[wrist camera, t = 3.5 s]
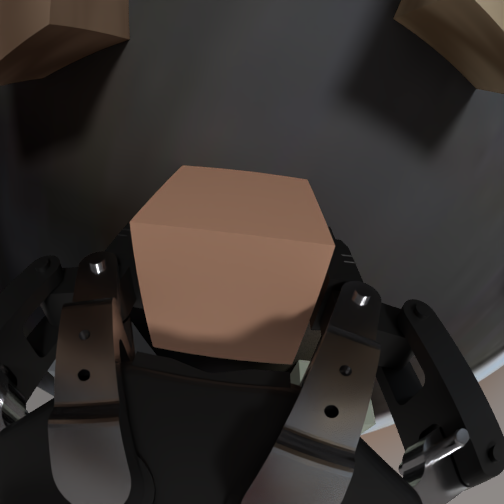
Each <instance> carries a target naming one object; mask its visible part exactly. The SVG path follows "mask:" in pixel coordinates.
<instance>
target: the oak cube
mask: <svg viewBox="0 0 504 504" xmlns="http://www.w3.org/2000/svg"><path fill="white" fill-rule="evenodd" d="M393 19H394V20H396V21H397V22H399V23H400V24H402V25H403V26H405V27H406V28H407V29H409V30H410V31H412V32H413V33H414V34H416V35H417V36H418V37H420V38H421V39H422V40H424V41H425V42H426V43H427V44H429V45H430V46H431V47H432V48H434V49H435V50H436V51H437V52H438V53H440V54H441V55H442V56H443V57H444V58H445V59H446V60H448V61H449V62H450V63H451V64H452V65H453V66H454V67H455V68H456V69H457V70H458V71H459V72H460V73H461V74H462V75H463V76H464V77H465V78H466V79H467V80H468V81H469V82H470V83H471V84H472V85H473V86H474V87H475V88H476V89H481V90H486V91H492V92H496V93H501V94H504V0H401V2H400V4H399V7H398V9H397V11H396V14H395V16H394V18H393Z"/></svg>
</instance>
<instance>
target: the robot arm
mask: <svg viewBox="0 0 504 504" xmlns="http://www.w3.org/2000/svg"><path fill="white" fill-rule="evenodd" d="M328 229H329V231H330V234H331V236H332V239H333V241H334V244H335V248H334V251H333V255H332V258H331V261H330V264H329V267H328V270H327V273H326V276H325V279H324V282H323V285H322V287H321V290H320V293H319V296H318V299H317V301H316V304H315V307H314V310H313V312H312V315H311V318H310V327H311V330H321V335H322V336H321V338H320V340H319V342H318V344H317V347H316V349H315V352H314V354H313V356H312V358H311V361H310V363H309V365H308V367H307V370H306V372H305V374H304V376H303V378H302V380H301V382H300V384H299V385H296V384H293V383H291V379H290V372H282V371H266V370H254V369H250V370H242V371H232V372H222V373H208V372H204V371H202V370H199V369H197V368H194V367H192V366H189V365H187V364H184V363H182V362H179V361H177V360H175V359H172V358H168V357H162V356H157V355H152V354H148V353H143V352H139V351H137V352H136V355H135V347H134V339H133V330H132V320H131V315H130V312H131V309H132V307H136V308H142V309H143V308H144V307H143V302H142V297H141V292H140V287H139V281H138V276H137V270H136V264H135V258H134V251H133V244H132V237H131V229H130V222H128V224H127V225H126V226H125V227H124V228H123V230H122V231H121V232H120V233H119V235H117V237H116V238H115V239H114V240H113V241H112V243H111V244H110V245H109V246H108V248H107V249H106V250H105V251H99V252H95V253H92V254H89V255H87V256H86V257H84V258H83V259H82V260H81V262H80V263H79V266H78V267H72V268H62V267H61V264H60V261H59V259H58V258H57V257H55V256H44V257H41V258H39V259H37V260H35V261H34V262H33V263H32V264H30V265H29V266H28V267H27V268H26V269H25V270H24V271H23V272H22V273H20V274H19V275H18V276H17V277H16V278H15V279H14V280H13V281H12V282H11V283H10V284H9V285H8V286H7V287H6V288H5V289H4V290H3V291H2V292H1V293H0V504H446V503H448V502H449V501H451V500H452V499H453V498H455V497H456V496H457V495H459V494H460V493H461V492H462V491H464V490H467V489H469V488H472V487H474V486H476V485H479V484H481V483H483V482H485V481H487V480H489V479H491V478H493V477H495V476H497V475H499V474H500V473H501V472H502V471H503V470H504V436H503V434H502V431H501V429H500V427H499V424H498V422H497V420H496V418H495V415H494V413H493V411H492V409H491V407H490V405H489V403H488V401H487V399H486V397H485V395H484V393H483V391H482V389H481V387H480V385H479V383H478V382H477V380H476V378H475V376H474V374H473V372H472V371H471V369H470V367H469V365H468V364H467V362H466V360H465V359H464V357H463V355H462V354H461V352H460V350H459V349H458V347H457V346H456V344H455V342H454V341H453V339H452V338H451V336H450V335H449V333H448V331H447V330H446V328H445V327H444V325H443V324H442V322H441V321H440V320H439V318H438V317H437V315H436V314H435V312H434V311H433V310H432V309H431V308H430V307H429V306H428V305H427V304H425V303H424V302H421V301H419V300H414V299H412V300H408V301H406V302H405V303H404V305H403V307H402V308H401V309H399V308H396V307H393V306H390V305H386V304H384V303H381V297H380V294H379V293H378V292H377V291H376V290H375V289H374V288H373V287H372V286H370V285H368V284H366V283H363V281H362V278H361V276H360V273H359V271H358V269H357V266H356V264H355V263H354V259H353V257H352V255H351V253H350V250H349V248H348V247H347V246H346V245H345V244H344V243H343V242H342V241H341V240H337V239H335V237H334V235H333V233H332V230H331V228H330V227H328ZM39 305H41V307H42V309H43V311H44V313H45V316H44V318H43V319H42V320H41V321H40V322H39V323H38V325H37V326H36V327H35V328H34V329H33V331H32V332H31V333H30V334H29V335H28V337H27V338H26V337H25V336H24V333H23V325H24V323H25V321H26V320H27V319H28V317H29V316H30V315H31V314H32V313H33V312H34V311H35V310H36V308H37V307H38V306H39ZM414 355H415V356H416V358H417V360H418V362H419V364H420V366H421V368H422V369H423V371H424V374H425V384H424V386H423V387H422V385H421V383H420V381H419V379H418V377H417V375H416V373H415V371H414V369H413V367H412V365H411V363H410V360H411V358H412V357H413V356H414ZM55 359H56V363H55V382H54V398H53V399H51V400H50V401H48V402H47V403H45V404H43V405H42V406H40V407H39V408H37V409H35V410H34V411H32V412H30V413H28V411H27V410H26V402H27V401H28V399H29V398H30V396H31V395H32V393H33V391H34V389H35V388H36V387H37V385H38V384H39V382H40V381H41V379H42V378H43V376H44V375H45V373H46V372H47V371H48V369H49V368H50V366H51V365H52V363H53V362H54V361H55ZM375 377H376V378H377V380H378V383H379V385H380V387H381V390H382V392H383V395H384V397H385V400H386V402H387V404H388V407H389V409H390V412H391V415H392V417H393V420H394V422H395V425H396V427H397V429H398V433H399V435H400V438H401V441H402V444H403V446H404V449H405V453H404V455H403V459H402V463H401V464H400V465H399V472H400V474H401V475H403V478H402V477H401V476H400V475H399V474H398V473H397V472H396V471H395V470H393V468H391V467H390V466H389V465H388V464H387V463H386V462H385V461H384V460H383V459H382V458H381V457H380V456H379V455H378V454H377V453H376V452H375V451H374V450H373V449H372V448H371V447H370V446H368V444H367V443H366V442H365V441H364V440H363V439H362V438H361V437H360V435H361V431H362V428H363V425H364V421H365V418H366V414H367V410H368V407H369V403H370V399H371V395H372V390H373V386H374V381H375Z"/></svg>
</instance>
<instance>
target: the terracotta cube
mask: <svg viewBox="0 0 504 504" xmlns="http://www.w3.org/2000/svg"><path fill="white" fill-rule="evenodd" d="M130 229H131V237H132V244H133V251H134V258H135V264H136V270H137V276H138V281H139V287H140V292H141V297H142V302H143V307H144V311H145V316H146V320H147V324H148V329H149V333H150V337H151V341H152V345H153V347H157V348H162V349H167V350H172V351H178V352H184V353H190V354H196V355H203V356H210V357H217V358H225V359H234V360H243V361H253V362H264V363H278V364H292V363H293V360H294V358H295V356H296V353H297V351H298V348H299V346H300V343H301V341H302V338H303V336H304V333H305V331H306V328H307V326H308V323H309V320H310V318H311V315H312V312H313V310H314V307H315V304H316V301H317V299H318V296H319V293H320V290H321V287H322V285H323V282H324V279H325V276H326V273H327V270H328V267H329V264H330V261H331V258H332V255H333V251H334V248H335V244H334V241H333V239H332V236H331V234H330V231H329V229H328V226H327V224H326V222H325V219H324V217H323V214H322V212H321V210H320V207H319V205H318V203H317V200H316V198H315V196H314V193H313V191H312V189H311V187H310V184H309V182H308V180H306V179H300V178H293V177H287V176H280V175H272V174H265V173H257V172H248V171H239V170H230V169H220V168H208V167H196V166H181V167H180V168H179V169H178V170H177V171H176V172H175V173H174V174H173V175H172V176H171V177H170V178H169V180H168V181H167V182H166V183H165V184H164V185H163V186H162V187H161V188H160V189H159V190H158V191H157V192H156V193H155V194H154V195H153V196H152V197H151V199H150V200H149V201H148V202H147V203H146V204H145V205H144V206H143V207H142V208H141V210H140V211H139V212H138V213H137V214H136V215H135V216H134V218H133V219H132V220H131V221H130Z"/></svg>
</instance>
